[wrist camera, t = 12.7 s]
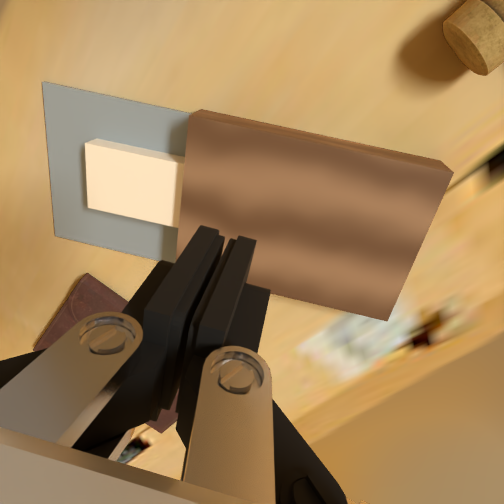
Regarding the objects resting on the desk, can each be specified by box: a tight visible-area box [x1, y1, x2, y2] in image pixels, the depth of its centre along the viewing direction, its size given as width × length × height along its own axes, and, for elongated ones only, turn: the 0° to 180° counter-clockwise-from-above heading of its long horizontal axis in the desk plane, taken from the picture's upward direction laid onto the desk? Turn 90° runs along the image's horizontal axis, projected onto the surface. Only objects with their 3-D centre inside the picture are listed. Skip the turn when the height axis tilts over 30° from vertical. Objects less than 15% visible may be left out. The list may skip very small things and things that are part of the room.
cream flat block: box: [85, 139, 185, 228], centre depth 34 cm, size 6×9×2 cm, turn 80°
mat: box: [42, 82, 192, 263], centre depth 36 cm, size 15×14×1 cm
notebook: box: [33, 273, 179, 433], centre depth 46 cm, size 15×20×2 cm
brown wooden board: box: [175, 109, 454, 321], centre depth 33 cm, size 14×20×4 cm
